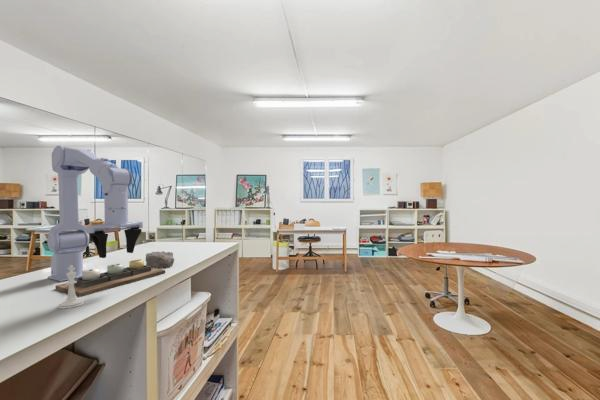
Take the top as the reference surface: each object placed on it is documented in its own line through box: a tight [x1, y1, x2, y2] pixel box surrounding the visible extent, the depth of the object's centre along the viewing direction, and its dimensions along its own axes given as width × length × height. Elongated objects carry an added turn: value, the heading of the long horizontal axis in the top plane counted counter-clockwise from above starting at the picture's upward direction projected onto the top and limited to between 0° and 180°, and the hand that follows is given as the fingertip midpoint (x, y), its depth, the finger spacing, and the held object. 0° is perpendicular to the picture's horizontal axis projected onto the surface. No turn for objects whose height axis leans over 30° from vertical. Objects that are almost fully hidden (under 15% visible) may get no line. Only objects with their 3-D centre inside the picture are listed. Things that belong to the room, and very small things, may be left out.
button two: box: [106, 263, 124, 275], centre depth 89 cm, size 4×4×3 cm
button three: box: [128, 258, 145, 269], centre depth 95 cm, size 4×4×3 cm
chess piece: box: [58, 265, 85, 310], centre depth 69 cm, size 5×5×10 cm
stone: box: [145, 251, 175, 268], centre depth 108 cm, size 8×10×6 cm
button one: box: [81, 268, 101, 280], centre depth 83 cm, size 4×4×3 cm
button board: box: [55, 264, 166, 297], centre depth 89 cm, size 14×26×3 cm, turn 153°
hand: (116, 255), depth 80 cm, fingers open, 7 cm apart
